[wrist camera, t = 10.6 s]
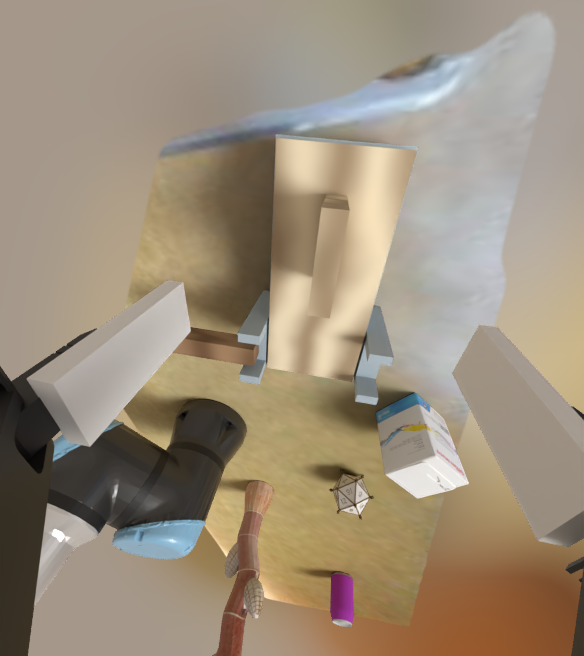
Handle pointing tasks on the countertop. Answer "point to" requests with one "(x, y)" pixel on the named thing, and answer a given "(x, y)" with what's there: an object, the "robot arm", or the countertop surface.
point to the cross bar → (218, 347)
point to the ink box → (418, 448)
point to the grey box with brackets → (376, 336)
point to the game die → (351, 494)
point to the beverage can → (342, 599)
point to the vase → (244, 571)
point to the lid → (329, 250)
